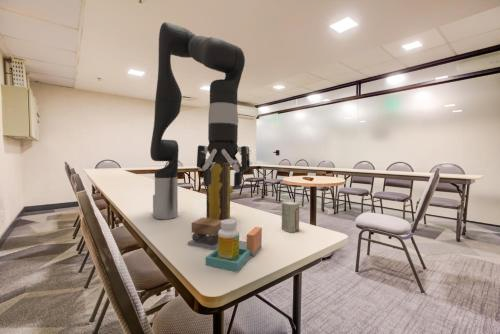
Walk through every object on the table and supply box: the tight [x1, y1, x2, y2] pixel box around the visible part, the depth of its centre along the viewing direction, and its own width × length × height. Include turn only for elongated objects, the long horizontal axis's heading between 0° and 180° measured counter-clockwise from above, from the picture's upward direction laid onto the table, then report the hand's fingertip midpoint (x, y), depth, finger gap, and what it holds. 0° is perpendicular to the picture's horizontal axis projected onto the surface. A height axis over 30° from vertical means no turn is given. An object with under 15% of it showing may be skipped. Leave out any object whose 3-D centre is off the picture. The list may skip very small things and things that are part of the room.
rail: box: [187, 226, 263, 257], centre depth 66 cm, size 21×7×6 cm, turn 69°
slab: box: [191, 217, 222, 244], centre depth 68 cm, size 8×6×5 cm
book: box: [206, 162, 234, 220], centre depth 87 cm, size 22×8×25 cm, turn 179°
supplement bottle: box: [218, 218, 240, 261], centre depth 57 cm, size 5×5×10 cm
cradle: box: [204, 247, 252, 273], centre depth 57 cm, size 9×9×2 cm
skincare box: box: [281, 201, 300, 233], centre depth 81 cm, size 5×4×10 cm
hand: (222, 185), depth 58 cm, fingers open, 8 cm apart
